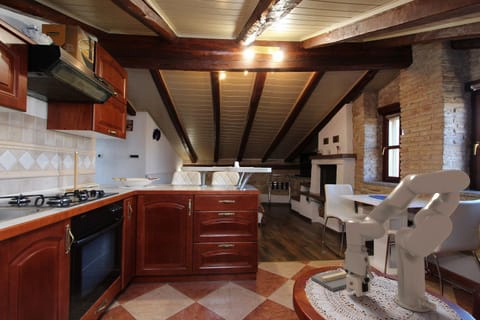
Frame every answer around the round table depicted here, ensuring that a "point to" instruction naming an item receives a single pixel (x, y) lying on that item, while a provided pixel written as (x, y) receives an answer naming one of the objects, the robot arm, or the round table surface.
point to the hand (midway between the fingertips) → (358, 288)
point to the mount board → (331, 280)
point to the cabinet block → (356, 284)
